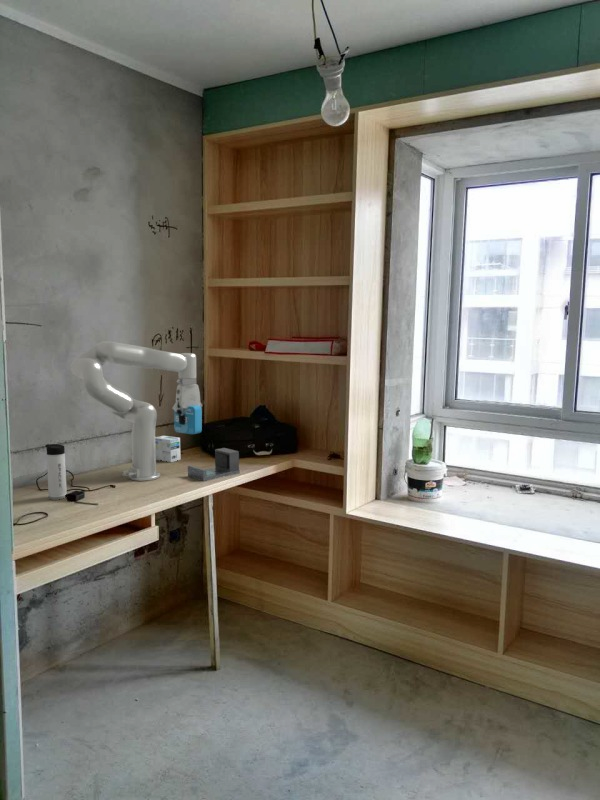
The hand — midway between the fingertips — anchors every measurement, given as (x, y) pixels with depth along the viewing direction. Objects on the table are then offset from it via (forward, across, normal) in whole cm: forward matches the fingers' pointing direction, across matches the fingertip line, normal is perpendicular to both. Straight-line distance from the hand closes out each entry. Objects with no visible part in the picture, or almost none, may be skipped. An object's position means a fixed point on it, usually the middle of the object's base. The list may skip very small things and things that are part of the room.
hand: (187, 423), depth 274 cm
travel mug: (+22, -60, -2) cm, 63 cm away
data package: (+4, 0, 0) cm, 4 cm away
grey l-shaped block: (+21, +3, -14) cm, 25 cm away
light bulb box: (+21, +4, +23) cm, 31 cm away
